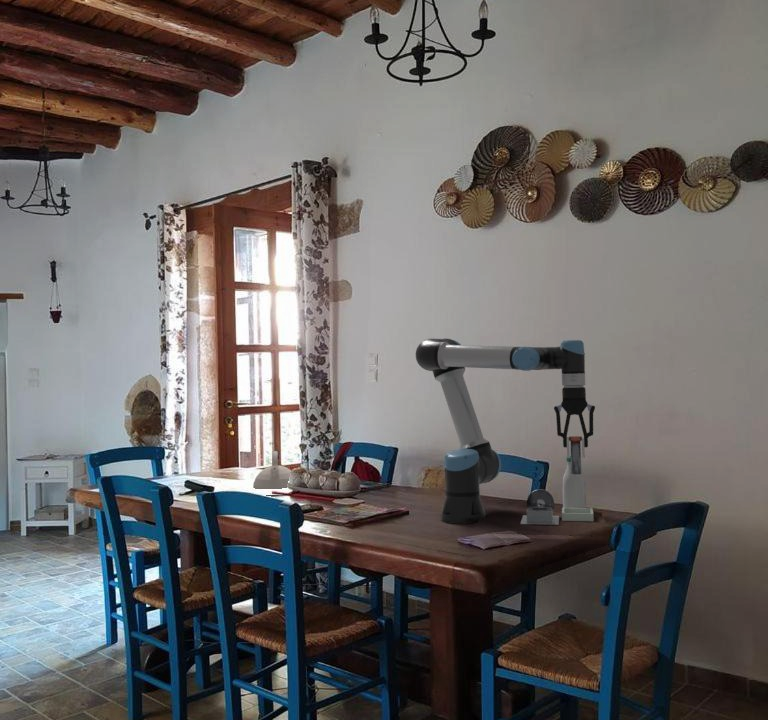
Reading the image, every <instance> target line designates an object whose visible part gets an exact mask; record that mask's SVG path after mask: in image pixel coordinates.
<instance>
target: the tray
mask: <svg viewBox="0 0 768 720" xmlns="http://www.w3.org/2000/svg"><path fill="white" fill-rule="evenodd" d="M561 521H563V522H564V521H565V522H594V509H593V507H586V508H563V507H562V508H561Z"/></svg>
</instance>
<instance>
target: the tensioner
mask: <svg viewBox="0 0 768 720" xmlns="http://www.w3.org/2000/svg"><path fill="white" fill-rule="evenodd" d="M526 506H527V508H526V514H523V515H522V518H521V521H520V525H548V526H549V525H551V526H552V525H555V526H556V525H557V526H559V524H560V515H553V510H554V508H555V499H554V497H553V495H552V494H551V493H550V492H549V491H548V490H546V489H545V488H544V489H541V488H537V489H534V490H533V491H531V492H530V493H529V495H528V497H527V499H526Z"/></svg>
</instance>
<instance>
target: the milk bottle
mask: <svg viewBox="0 0 768 720" xmlns="http://www.w3.org/2000/svg"><path fill="white" fill-rule="evenodd" d="M565 459H566V464H567V465H566V469H565V470H564V471H565V472H564V474H563V477H562V508H587V502H586V501H587V499H586V496H587V495H586V494H587V493H586V481H585V476H584V474H583V472H582V471H581V474H571V455H570V458H567V456H566V457H565Z"/></svg>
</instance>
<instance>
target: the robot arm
mask: <svg viewBox="0 0 768 720" xmlns="http://www.w3.org/2000/svg"><path fill="white" fill-rule="evenodd" d="M585 355H586V354H585V345H584V342H583V340H581V339H572V340H571V339H569V340H561V342H560V345H559V346H545V347H543V346H542V347H541V346H538V347H537V346H536V347H535V346H534V347H533V346H506V345H505V346H503V345H502V346H501V345H500V346H498V345H496V346H495V345H470V344H469V345H467V344H461V343H460V342H458V341H457V340H454V339H451V338H426V339H424V340H423V341H421V343H419V344H418V345H417V348H416V350H415V360H416V362H417V365H419V367H421V368H422V369H423V370H425V371H428V372H432V375H433V377H434V380H435V381H437V382H439V383H440V386H441V389H442V392H443V395H444V397H445V401H446V404H447V407H448V411H449V413H450V416H451V420H452V422H453V426H454V429H455V431H456V435H457V438H458V441H459V443H460V446H459V448H458V449H455V450H451V451H448V452H447V453H446V454H445V455H444V463H443V465H444V488H445V498H444V502H443V505H442V508H441V512H440V520H441V521H442V522H444V523H449V524H475V523H476V524H477V523H478V522H479V520H482V519H484V518H485V517H486V511H485V509H484V506H483V503H482V500H481V495H480V494H481V492H480V485H483V484H486V483H489V482H491V481H493V480H495V479H497V477H498V476H499V474H500V473H501V469H502V460H501V457H500V456H499V454H498V453H497V451H495V450H494V449H493V448H492V446H491V443H490V441H489V440H487V439H486V438H484V434H483V433H482V432H483V431H482V429H481V426H480V423H479V420H478V417H477V414H476V410H475V408H474V406H473V401H472V399H471V396H470V393H469V390H468V386H467V384H466V381H465V378H464V374H465V372H466V368H470V369H471V368H472V369H473V368H474V369H475V368H477V369H496V370H497V369H498V370H516V371H519V370H520V371H524V372H525V371H527V372H530V371H542V370H544V371H545V370H561V384H562V385H561V386H563V387H562V388H561V394H562V400H561V401H562V402H561V404H559V405H555V406H554V407H553V410H554V412H555V414H556V415H555V418H556V431H557V432H556V433H557V436H558V437H561V438H562V442H563V443H562V445H563V446H562V447H563V448H566V452H567V453H566V457H567V458H570V456H571V453H570V441H569V437H570V436H568V432H569V427H570V422H571V421H570V420H571V416H578V418H579V423H580V426H581V430H582V433H583V435H582V436H583V437H582V436H581V437H582V441H581V459H582V458H583V459H584V458H585V456H586V455H585V451H586V450H585V448H588V447H589V439H588V438H590V437H591V436H593V435H594V412H595V409H596V406H595V405H592V404H590V403H588V401H587V400H586V399H587V396H586V395H587V394H586V393H587V392H586V387H585V386H586V371H585V369H586V368H585V367H586V365H585V362H586V360H585V359H586V357H585ZM586 408H587V411H588V413H589V414H588V416H589V417H588V420H589V422H588V424H589V425H588V428H589V429H588V430H589V431H588V432H587V428H586V423H585V419H584V416H583V412H584V411H585V410H586ZM562 409H563V410H564V411H565V413H566V418H565V423H564V429H563V432H562V425H561V424H562V423H561V413H560V412H561V411H562Z"/></svg>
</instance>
